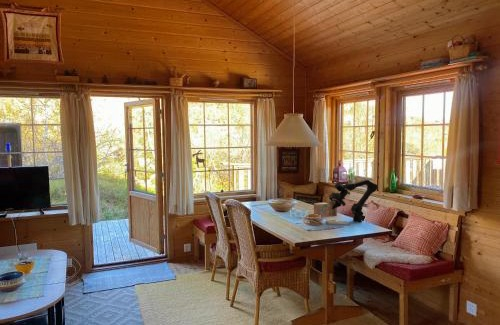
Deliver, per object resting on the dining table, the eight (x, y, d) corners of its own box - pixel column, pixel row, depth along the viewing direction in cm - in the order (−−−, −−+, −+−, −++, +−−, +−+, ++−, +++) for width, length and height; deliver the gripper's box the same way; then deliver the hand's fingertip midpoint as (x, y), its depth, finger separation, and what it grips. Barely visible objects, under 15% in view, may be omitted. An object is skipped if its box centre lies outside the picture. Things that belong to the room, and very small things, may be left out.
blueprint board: (346, 222, 334) (346, 219, 334) (349, 225, 323) (349, 222, 323) (325, 221, 334) (325, 219, 333) (328, 225, 323) (328, 222, 322)
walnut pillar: (333, 215, 330) (333, 201, 329) (335, 216, 326) (335, 201, 325) (329, 215, 329) (329, 201, 328) (331, 216, 325) (331, 202, 324)
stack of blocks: (333, 214, 364) (334, 202, 363) (336, 216, 358) (337, 203, 357) (313, 215, 358) (313, 203, 357) (316, 217, 352) (316, 204, 351)
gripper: (330, 187, 335) (319, 200, 333) (342, 190, 318) (331, 204, 315) (338, 195, 339) (327, 208, 336) (350, 199, 321) (339, 213, 319)
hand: (331, 208), depth 326 cm, fingers closed on walnut pillar, 4 cm apart
